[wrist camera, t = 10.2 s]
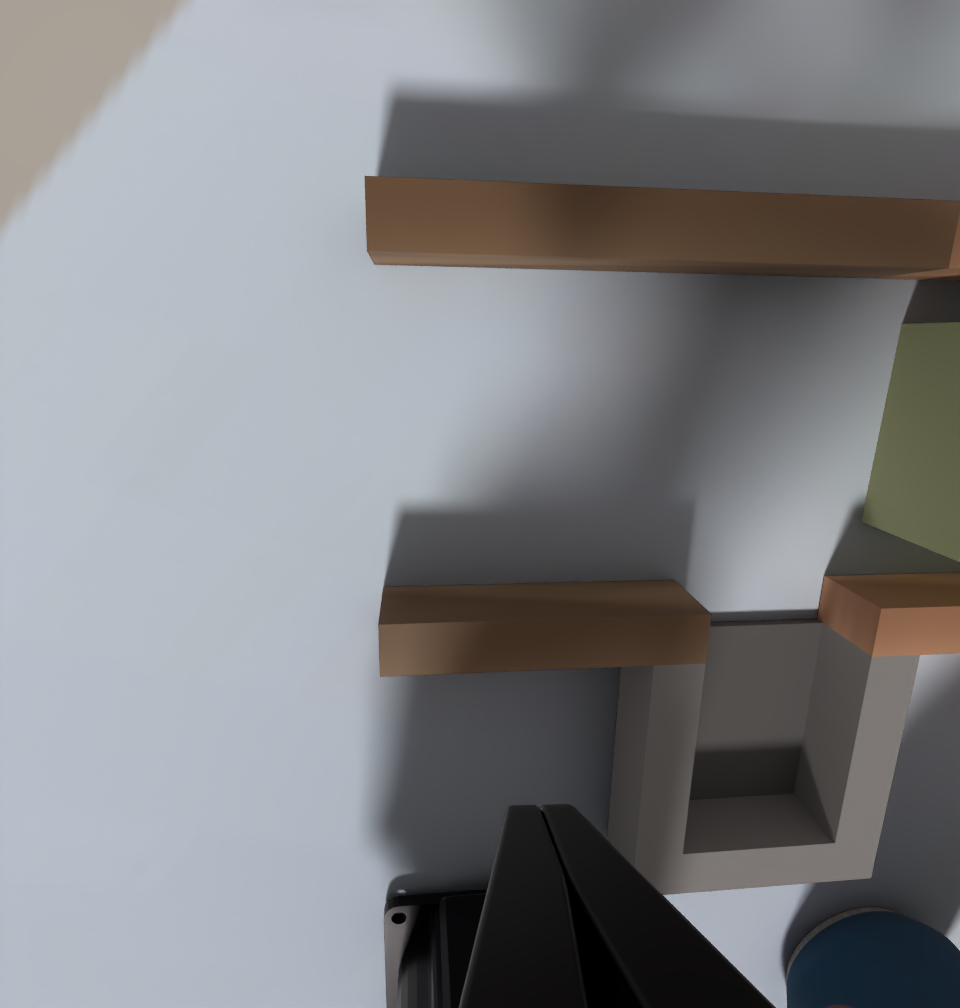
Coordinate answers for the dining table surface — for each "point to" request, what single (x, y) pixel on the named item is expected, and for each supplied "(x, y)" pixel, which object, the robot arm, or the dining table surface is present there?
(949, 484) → the olive block
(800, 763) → the trap pit
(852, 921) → the soda can
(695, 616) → the walled lane
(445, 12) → the dining table surface
